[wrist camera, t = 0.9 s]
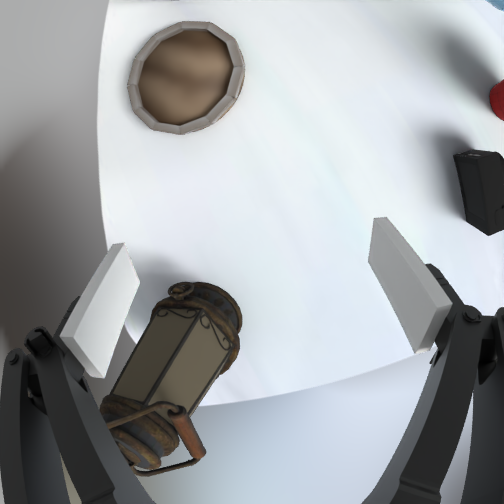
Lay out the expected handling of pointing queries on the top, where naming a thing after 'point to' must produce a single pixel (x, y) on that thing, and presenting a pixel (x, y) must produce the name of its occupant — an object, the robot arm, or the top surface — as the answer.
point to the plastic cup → (498, 99)
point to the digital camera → (482, 189)
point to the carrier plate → (186, 77)
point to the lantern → (172, 375)
